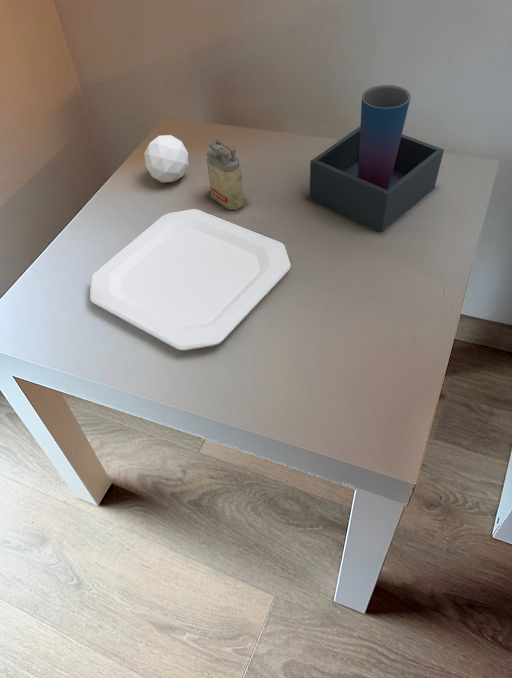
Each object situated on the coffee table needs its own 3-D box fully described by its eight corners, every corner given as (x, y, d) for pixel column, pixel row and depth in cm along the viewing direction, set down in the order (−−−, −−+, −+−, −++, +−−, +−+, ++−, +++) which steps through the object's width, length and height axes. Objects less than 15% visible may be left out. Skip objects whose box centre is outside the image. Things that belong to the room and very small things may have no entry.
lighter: (207, 195, 94) (199, 140, 86) (224, 186, 95) (218, 131, 87) (232, 213, 90) (226, 158, 82) (249, 203, 91) (245, 148, 83)
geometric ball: (162, 195, 100) (128, 166, 95) (181, 159, 101) (148, 129, 96) (185, 189, 94) (150, 158, 89) (204, 151, 95) (171, 119, 90)
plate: (76, 300, 81) (71, 289, 79) (180, 211, 92) (178, 200, 90) (203, 370, 71) (201, 360, 69) (304, 262, 81) (305, 250, 80)
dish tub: (434, 187, 89) (444, 149, 84) (381, 232, 84) (388, 194, 78) (362, 158, 96) (366, 121, 90) (309, 197, 91) (310, 160, 85)
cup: (398, 180, 90) (415, 87, 78) (388, 203, 86) (404, 110, 74) (358, 173, 92) (369, 82, 80) (346, 196, 89) (355, 105, 77)
